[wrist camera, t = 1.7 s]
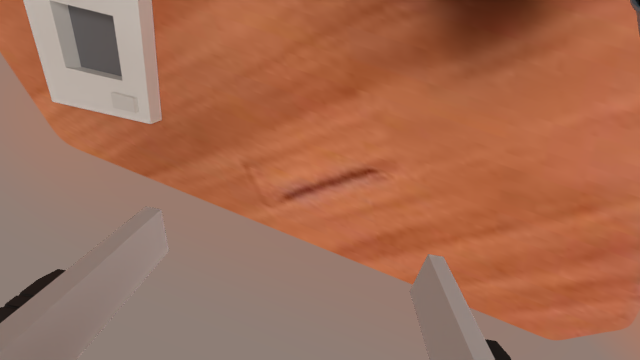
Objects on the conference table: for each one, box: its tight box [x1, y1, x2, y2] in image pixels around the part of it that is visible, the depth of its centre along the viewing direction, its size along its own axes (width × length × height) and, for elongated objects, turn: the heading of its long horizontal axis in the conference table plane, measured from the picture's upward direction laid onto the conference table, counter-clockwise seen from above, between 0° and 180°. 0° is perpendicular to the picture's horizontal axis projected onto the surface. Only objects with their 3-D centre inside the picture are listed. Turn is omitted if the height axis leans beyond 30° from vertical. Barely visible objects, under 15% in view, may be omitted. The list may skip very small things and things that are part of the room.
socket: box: [23, 0, 162, 124], centre depth 32 cm, size 18×14×3 cm
